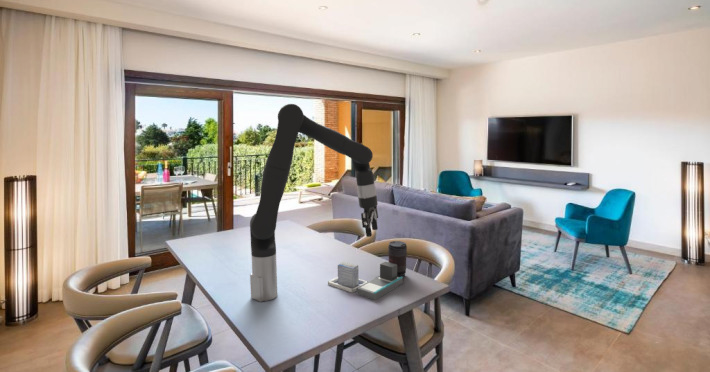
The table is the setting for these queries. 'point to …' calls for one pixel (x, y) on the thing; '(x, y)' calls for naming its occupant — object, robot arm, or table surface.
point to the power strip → (381, 282)
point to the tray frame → (344, 286)
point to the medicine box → (348, 274)
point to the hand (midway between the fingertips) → (372, 233)
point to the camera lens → (398, 256)
